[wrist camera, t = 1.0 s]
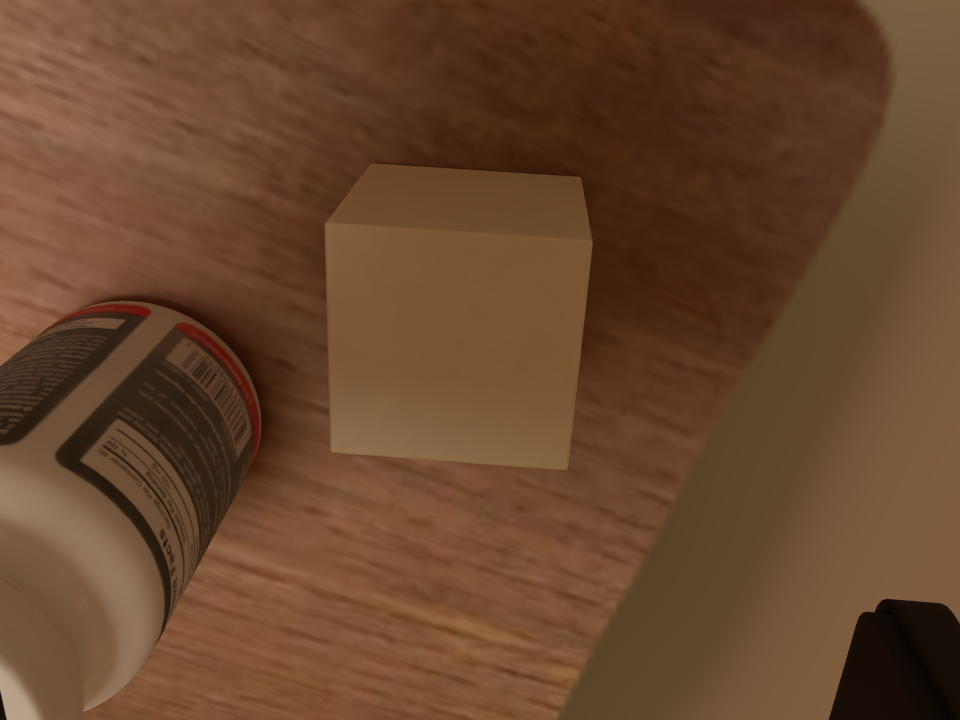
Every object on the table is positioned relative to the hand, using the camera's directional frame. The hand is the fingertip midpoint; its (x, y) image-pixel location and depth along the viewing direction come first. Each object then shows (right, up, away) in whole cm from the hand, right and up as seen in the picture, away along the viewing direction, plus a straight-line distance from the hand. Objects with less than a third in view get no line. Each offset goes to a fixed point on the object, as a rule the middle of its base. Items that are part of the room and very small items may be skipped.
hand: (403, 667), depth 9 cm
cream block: (+1, +5, +10) cm, 12 cm away
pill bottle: (-7, +2, +12) cm, 15 cm away
